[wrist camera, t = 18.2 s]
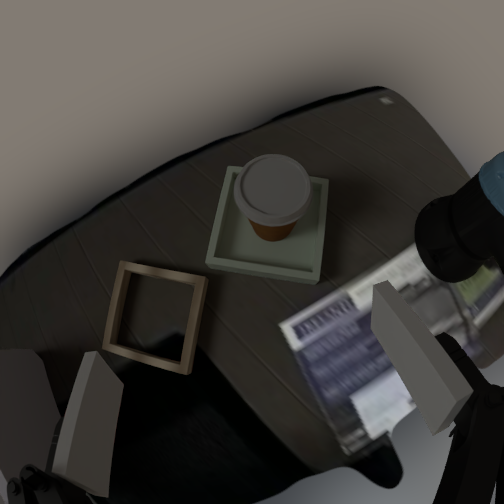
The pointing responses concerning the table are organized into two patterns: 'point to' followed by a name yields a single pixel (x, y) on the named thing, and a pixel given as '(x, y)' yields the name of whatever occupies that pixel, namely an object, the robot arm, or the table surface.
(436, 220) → the robot arm
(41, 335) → the table surface
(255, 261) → the tray
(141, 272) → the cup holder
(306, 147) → the table surface
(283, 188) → the disposable coffee cup
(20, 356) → the game console
